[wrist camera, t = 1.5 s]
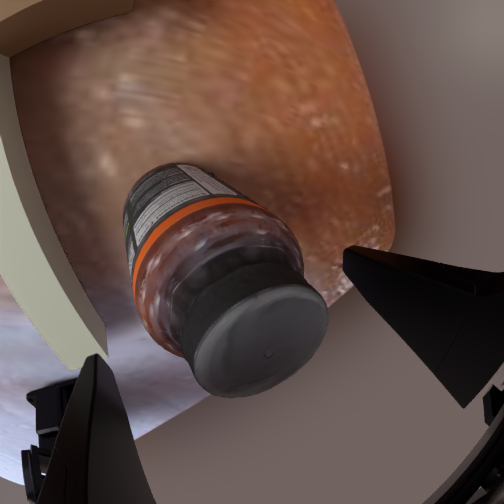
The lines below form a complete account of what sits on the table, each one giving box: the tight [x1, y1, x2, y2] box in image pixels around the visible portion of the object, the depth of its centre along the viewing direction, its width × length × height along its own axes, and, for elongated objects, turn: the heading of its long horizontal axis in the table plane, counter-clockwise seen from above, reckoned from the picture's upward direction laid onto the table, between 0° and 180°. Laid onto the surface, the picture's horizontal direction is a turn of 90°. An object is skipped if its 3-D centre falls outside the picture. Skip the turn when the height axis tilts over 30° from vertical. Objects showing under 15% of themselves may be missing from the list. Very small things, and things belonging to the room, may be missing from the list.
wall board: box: [0, 0, 135, 371], centre depth 10 cm, size 20×10×5 cm, turn 9°
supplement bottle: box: [123, 163, 328, 398], centre depth 11 cm, size 6×6×11 cm
